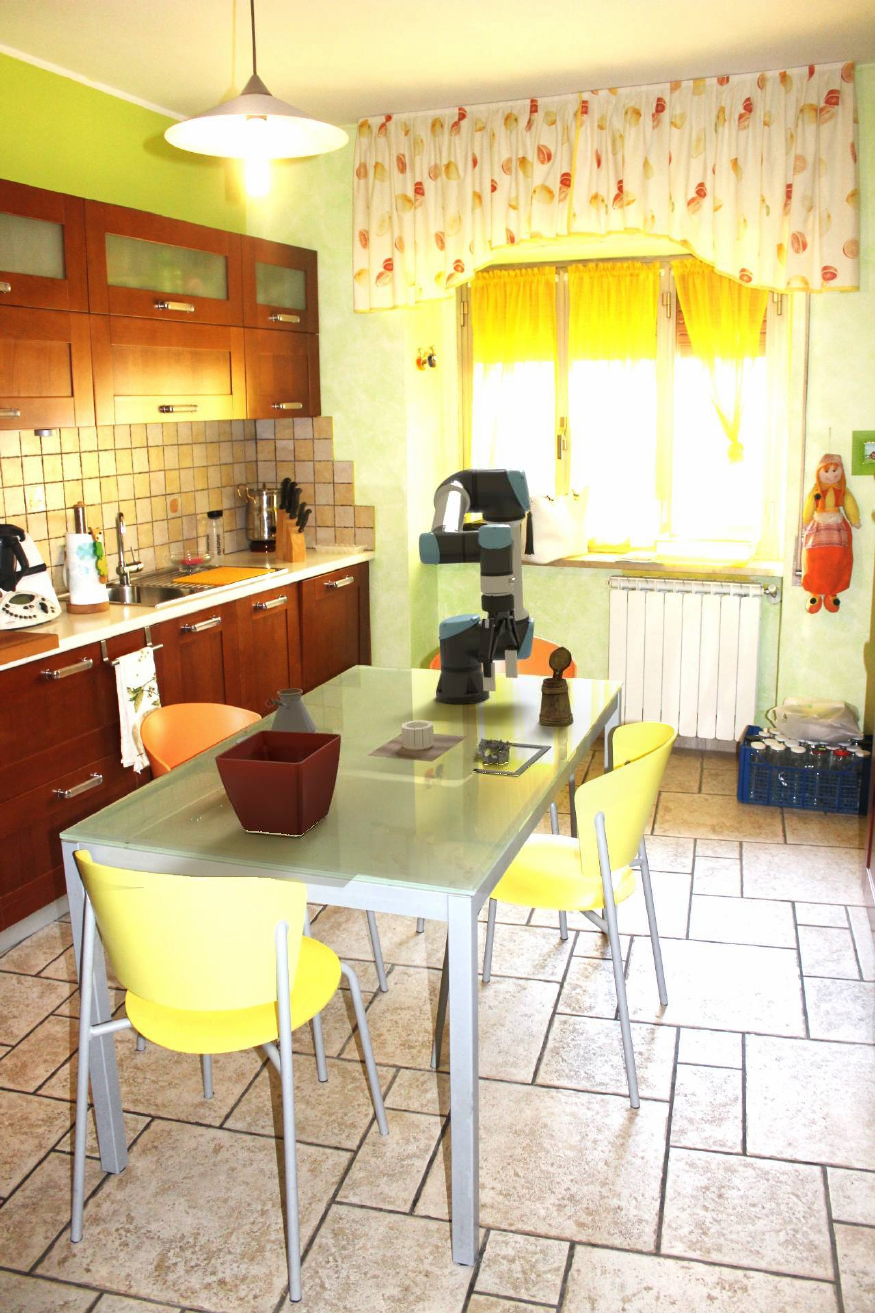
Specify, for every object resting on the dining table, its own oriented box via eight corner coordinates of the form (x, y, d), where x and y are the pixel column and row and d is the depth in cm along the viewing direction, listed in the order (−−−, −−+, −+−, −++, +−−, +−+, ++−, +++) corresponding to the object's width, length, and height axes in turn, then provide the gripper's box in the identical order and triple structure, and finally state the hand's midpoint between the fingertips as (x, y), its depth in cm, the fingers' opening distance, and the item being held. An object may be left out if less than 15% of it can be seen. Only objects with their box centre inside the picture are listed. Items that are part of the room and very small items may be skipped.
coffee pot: (279, 733, 288) (275, 677, 285) (322, 733, 286) (317, 677, 283) (251, 759, 268) (245, 699, 264) (296, 759, 265) (291, 699, 262)
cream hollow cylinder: (411, 739, 272) (410, 719, 271) (438, 742, 269) (437, 721, 268) (397, 748, 266) (396, 728, 265) (425, 751, 263) (424, 730, 262)
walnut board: (405, 735, 280) (405, 731, 280) (467, 741, 273) (466, 736, 273) (368, 759, 263) (367, 754, 262) (432, 766, 255) (432, 761, 255)
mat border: (478, 740, 273) (478, 739, 273) (551, 747, 265) (551, 746, 265) (440, 768, 254) (440, 767, 253) (518, 776, 245) (518, 775, 245)
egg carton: (508, 766, 253) (507, 749, 253) (475, 766, 255) (475, 749, 254) (512, 752, 264) (512, 735, 263) (481, 751, 265) (480, 735, 264)
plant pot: (220, 838, 219) (212, 756, 215) (267, 804, 236) (261, 728, 232) (306, 847, 212) (299, 763, 208) (348, 812, 229) (343, 734, 226)
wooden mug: (581, 712, 293) (579, 646, 289) (568, 727, 280) (567, 658, 276) (548, 711, 296) (546, 645, 292) (534, 725, 283) (532, 657, 279)
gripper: (491, 602, 239) (495, 697, 243) (532, 585, 261) (535, 673, 265) (460, 601, 242) (464, 695, 246) (502, 584, 264) (505, 671, 268)
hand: (500, 684), depth 256 cm, fingers open, 13 cm apart
